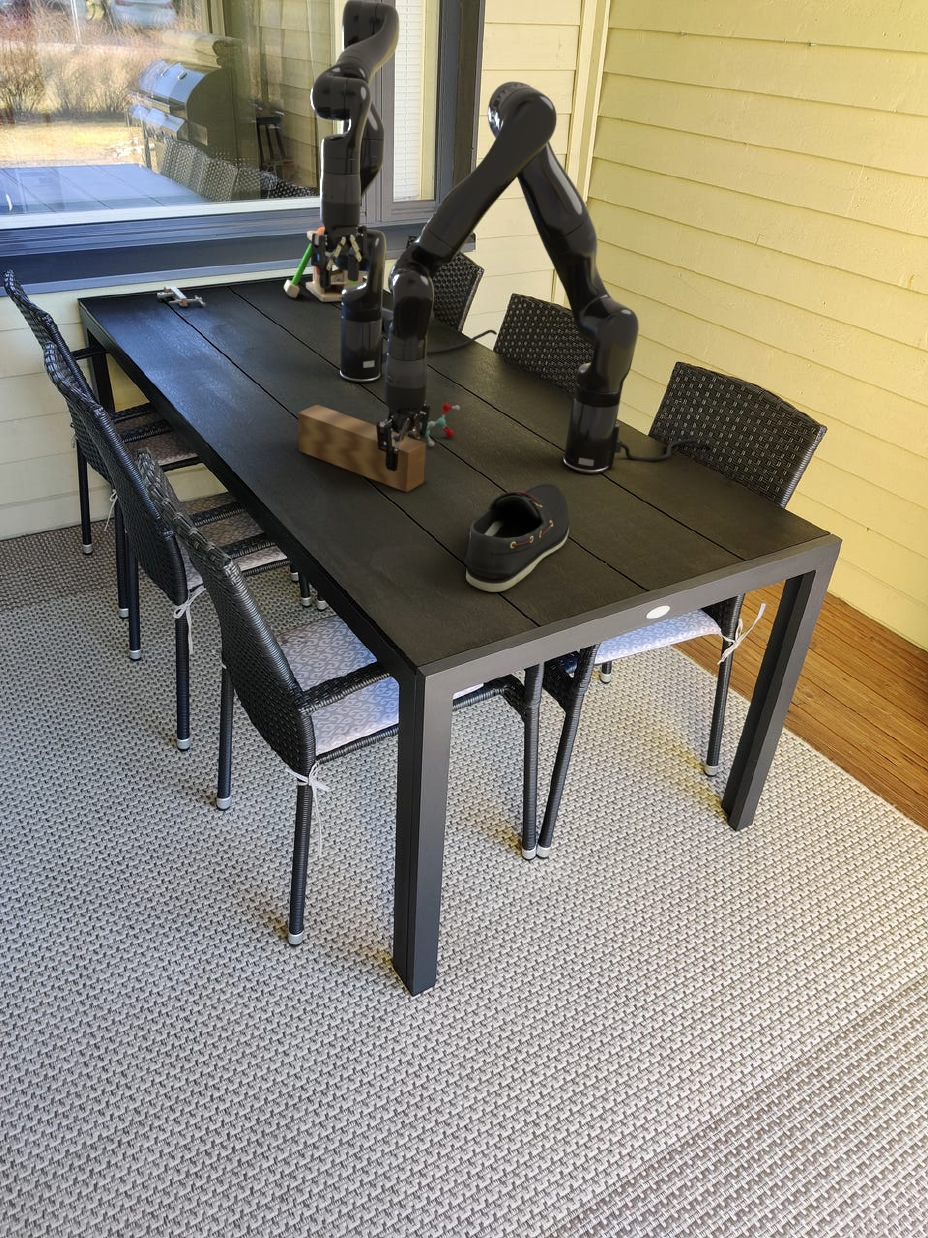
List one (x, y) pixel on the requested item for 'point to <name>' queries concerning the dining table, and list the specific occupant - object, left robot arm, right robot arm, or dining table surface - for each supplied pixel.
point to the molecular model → (440, 423)
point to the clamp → (178, 296)
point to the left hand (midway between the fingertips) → (339, 284)
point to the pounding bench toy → (314, 286)
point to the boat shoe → (515, 536)
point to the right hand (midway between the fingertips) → (401, 463)
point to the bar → (359, 447)
